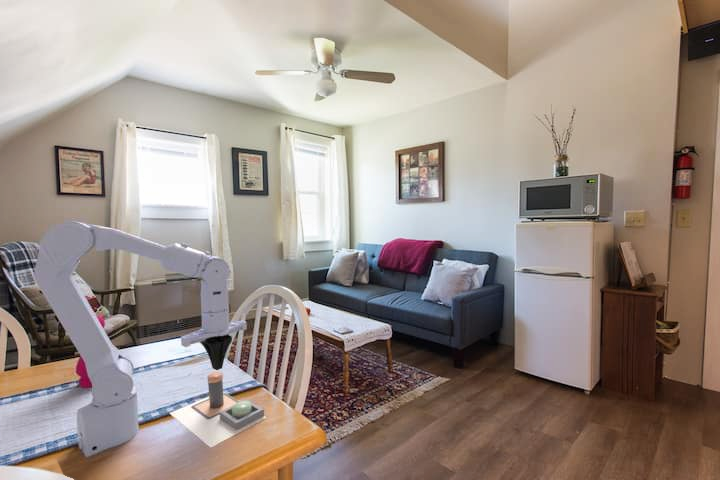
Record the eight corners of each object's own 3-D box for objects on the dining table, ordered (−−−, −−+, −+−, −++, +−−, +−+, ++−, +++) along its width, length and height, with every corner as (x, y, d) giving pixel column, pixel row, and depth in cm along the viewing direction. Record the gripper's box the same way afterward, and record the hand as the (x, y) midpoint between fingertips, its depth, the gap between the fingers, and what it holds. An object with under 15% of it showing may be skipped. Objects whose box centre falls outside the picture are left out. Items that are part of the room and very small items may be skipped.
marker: (206, 405, 78) (204, 376, 77) (219, 399, 80) (218, 371, 80) (213, 410, 76) (211, 380, 75) (226, 404, 78) (225, 374, 78)
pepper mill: (70, 386, 90) (66, 312, 89) (100, 374, 97) (96, 305, 95) (87, 391, 87) (83, 314, 86) (116, 379, 94) (112, 308, 93)
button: (238, 420, 70) (238, 413, 70) (228, 414, 73) (228, 406, 73) (255, 412, 74) (255, 405, 73) (245, 406, 76) (244, 399, 76)
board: (208, 456, 62) (208, 443, 62) (164, 417, 75) (163, 406, 75) (271, 421, 73) (271, 410, 73) (223, 392, 86) (223, 383, 86)
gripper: (191, 320, 68) (193, 385, 69) (253, 305, 80) (255, 361, 80) (175, 314, 73) (178, 375, 74) (236, 301, 84) (238, 354, 85)
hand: (217, 368), depth 77 cm, fingers closed
